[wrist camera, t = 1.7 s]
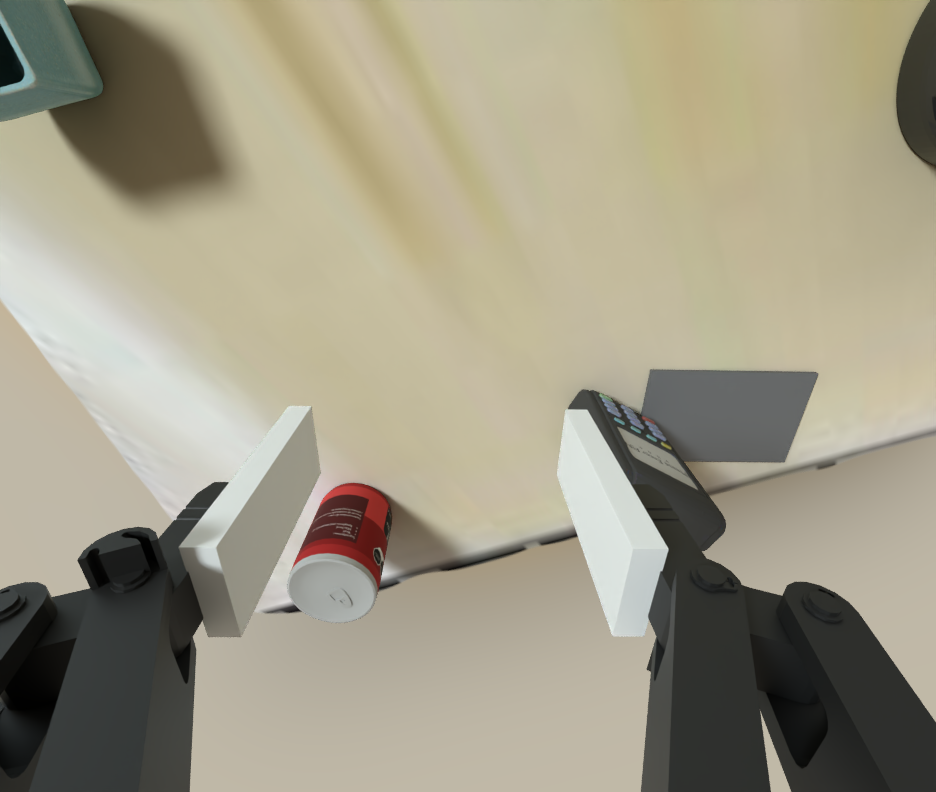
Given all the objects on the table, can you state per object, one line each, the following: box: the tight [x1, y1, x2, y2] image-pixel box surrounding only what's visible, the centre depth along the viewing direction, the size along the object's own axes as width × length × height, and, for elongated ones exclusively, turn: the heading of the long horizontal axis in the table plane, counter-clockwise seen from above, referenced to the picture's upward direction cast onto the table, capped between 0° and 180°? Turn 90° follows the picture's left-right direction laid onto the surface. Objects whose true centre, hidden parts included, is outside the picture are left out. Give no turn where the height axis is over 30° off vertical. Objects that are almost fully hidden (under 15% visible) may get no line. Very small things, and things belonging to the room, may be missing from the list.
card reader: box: [568, 390, 726, 551], centre depth 37 cm, size 9×4×15 cm, turn 62°
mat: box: [641, 370, 818, 462], centre depth 44 cm, size 16×10×1 cm, turn 89°
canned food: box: [287, 483, 392, 623], centre depth 44 cm, size 8×8×11 cm
